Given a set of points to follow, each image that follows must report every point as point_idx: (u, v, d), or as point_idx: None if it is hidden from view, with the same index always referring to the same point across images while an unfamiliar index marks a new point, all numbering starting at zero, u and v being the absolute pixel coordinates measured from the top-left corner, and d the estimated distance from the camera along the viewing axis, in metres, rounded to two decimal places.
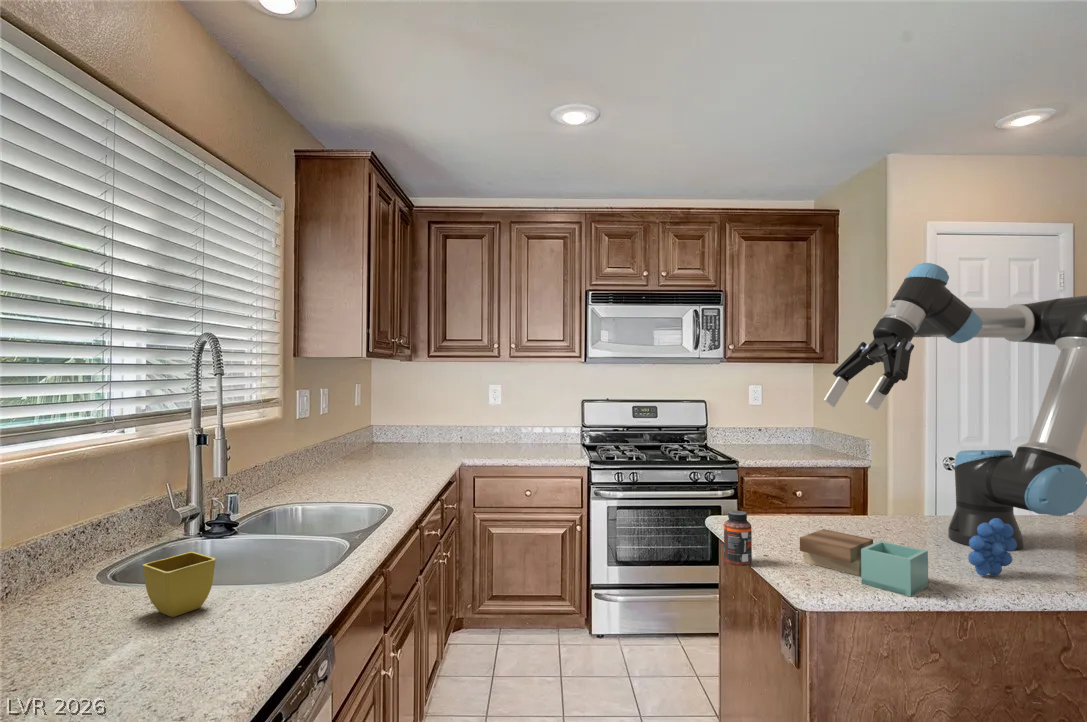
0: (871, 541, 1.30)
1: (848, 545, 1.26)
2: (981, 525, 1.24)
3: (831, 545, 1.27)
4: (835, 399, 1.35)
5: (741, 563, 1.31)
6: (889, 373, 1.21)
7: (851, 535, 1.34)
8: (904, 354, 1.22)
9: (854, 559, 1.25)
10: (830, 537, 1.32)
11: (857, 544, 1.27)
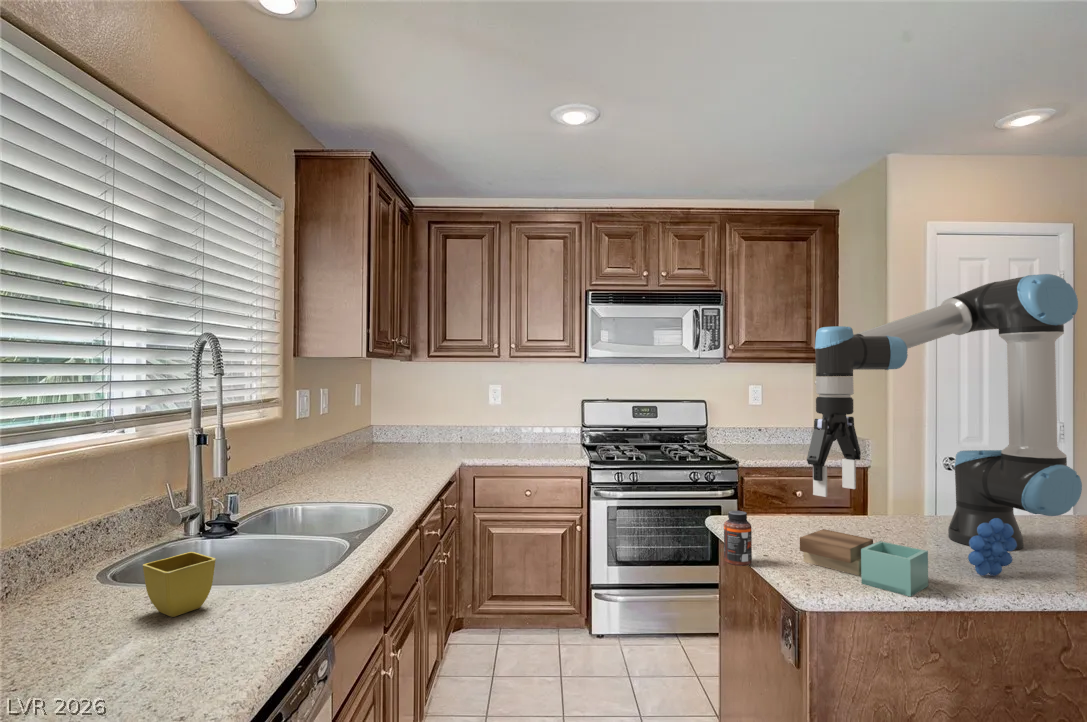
0: (871, 541, 1.30)
1: (848, 545, 1.26)
2: (981, 525, 1.24)
3: (831, 545, 1.27)
4: (851, 481, 1.35)
5: (741, 563, 1.31)
6: None
7: (851, 535, 1.34)
8: (816, 436, 1.27)
9: (854, 559, 1.25)
10: (830, 537, 1.32)
11: (857, 544, 1.27)
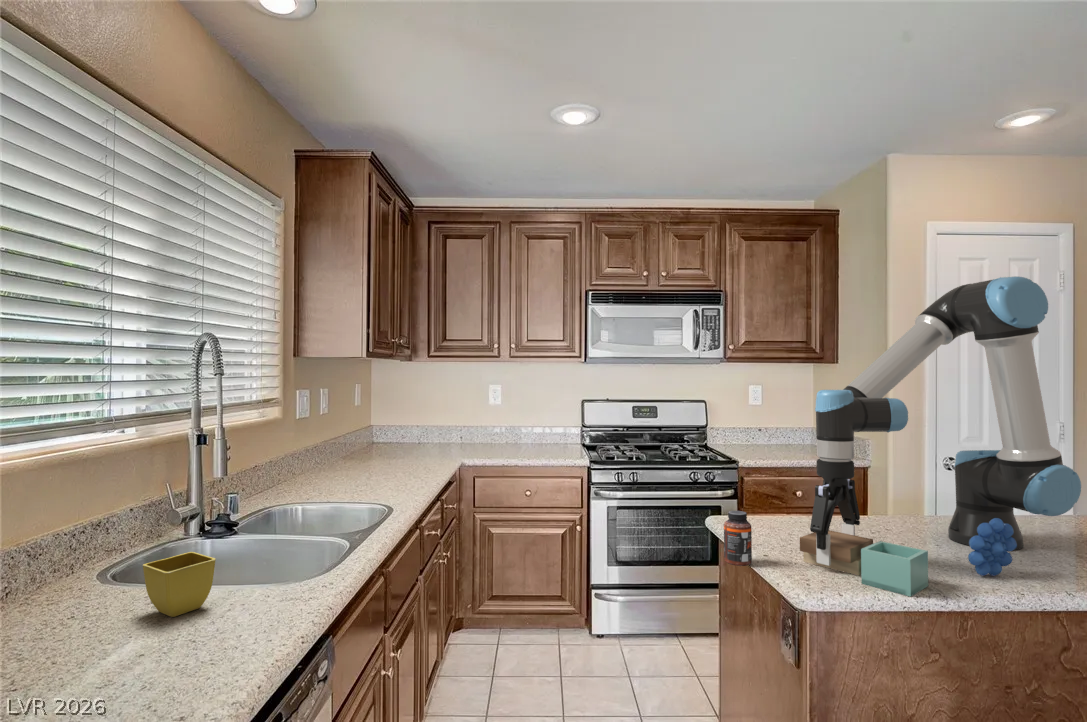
0: (871, 541, 1.30)
1: (848, 545, 1.26)
2: (981, 525, 1.24)
3: (831, 545, 1.27)
4: None
5: (741, 563, 1.31)
6: None
7: (851, 535, 1.34)
8: (817, 504, 1.27)
9: (854, 559, 1.25)
10: (830, 537, 1.32)
11: (857, 544, 1.27)
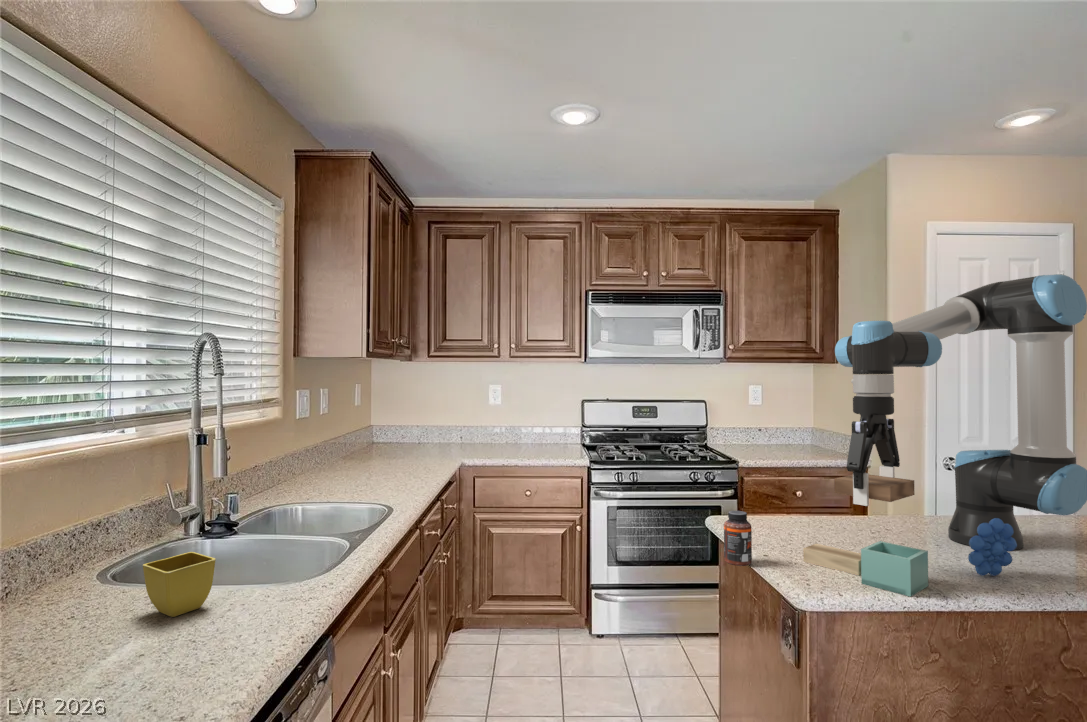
0: (912, 482, 1.22)
1: (887, 484, 1.18)
2: (981, 525, 1.24)
3: (869, 484, 1.19)
4: None
5: (741, 563, 1.31)
6: None
7: (890, 477, 1.26)
8: (854, 440, 1.19)
9: (894, 498, 1.17)
10: None
11: (897, 483, 1.19)
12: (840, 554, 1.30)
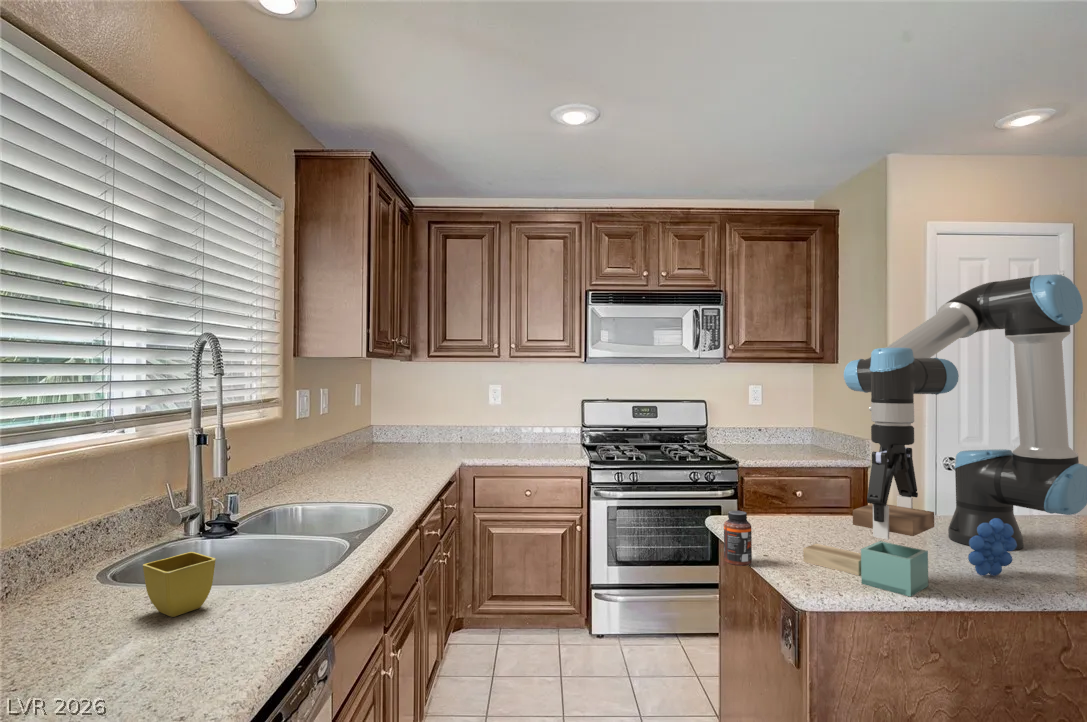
0: (932, 514, 1.18)
1: (909, 517, 1.14)
2: (981, 525, 1.24)
3: (890, 517, 1.15)
4: None
5: (741, 563, 1.31)
6: None
7: (908, 508, 1.22)
8: (875, 471, 1.16)
9: (916, 532, 1.13)
10: None
11: (919, 516, 1.15)
12: (840, 554, 1.30)
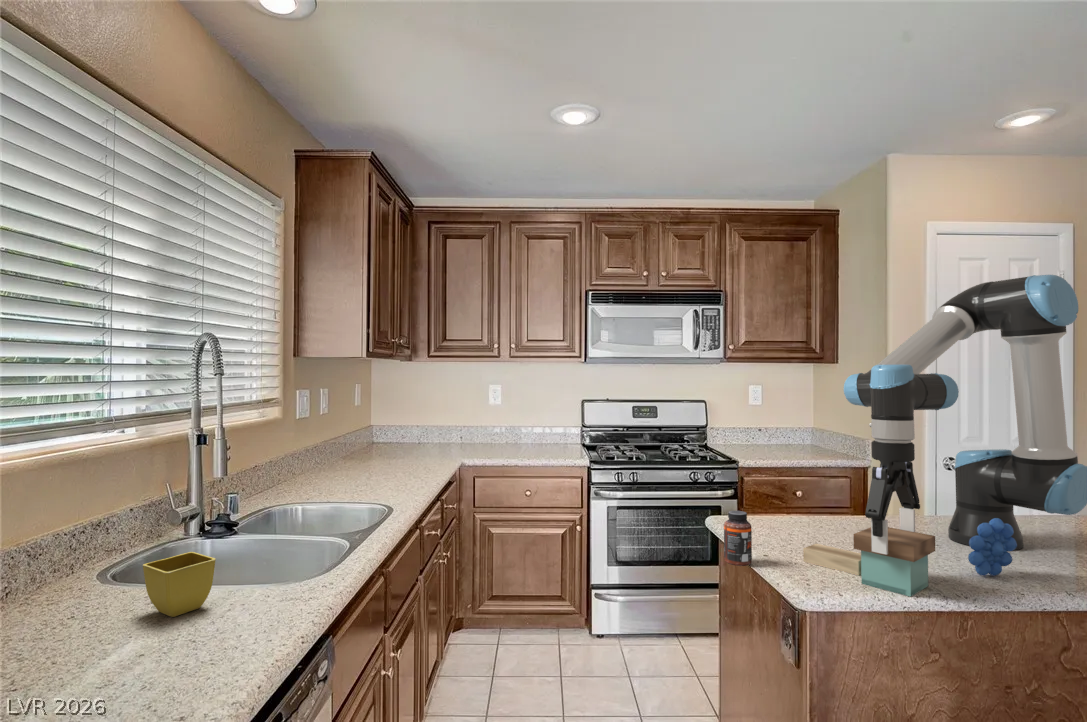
0: (933, 538, 1.18)
1: (910, 542, 1.14)
2: (981, 525, 1.24)
3: (891, 542, 1.15)
4: None
5: (741, 563, 1.31)
6: None
7: (909, 531, 1.22)
8: (875, 486, 1.15)
9: (917, 558, 1.13)
10: None
11: (919, 541, 1.15)
12: (840, 554, 1.30)
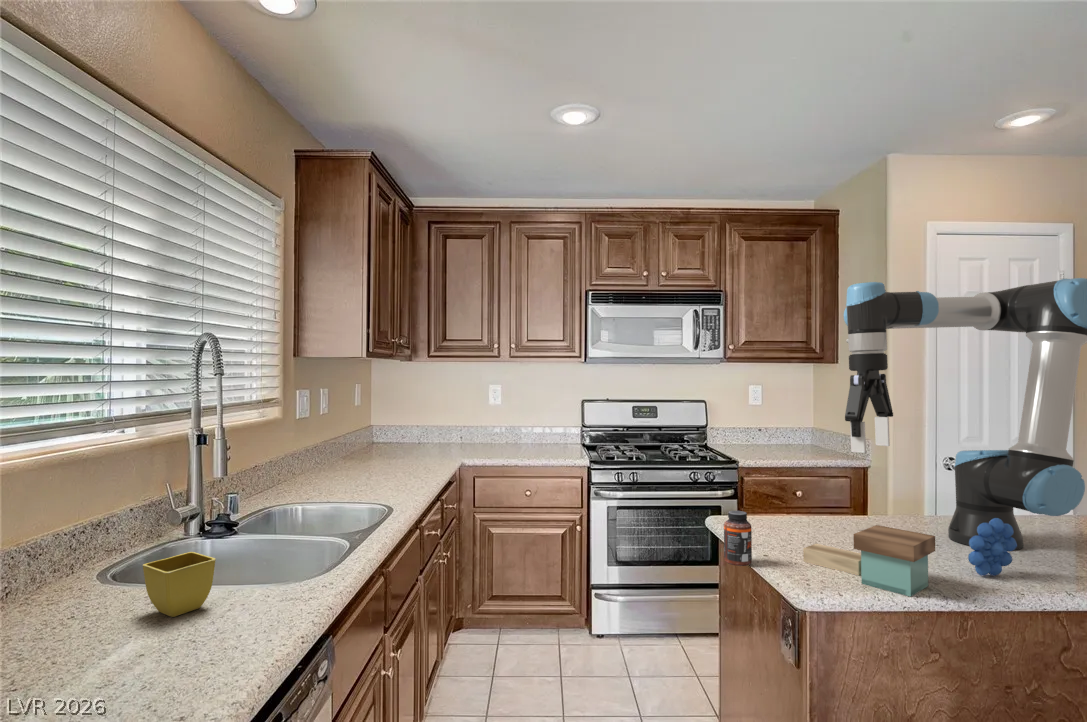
0: (933, 538, 1.18)
1: (910, 542, 1.14)
2: (981, 525, 1.24)
3: (891, 542, 1.15)
4: (884, 439, 1.35)
5: (741, 563, 1.31)
6: None
7: (909, 531, 1.22)
8: (853, 392, 1.27)
9: (917, 558, 1.13)
10: (887, 533, 1.20)
11: (919, 541, 1.15)
12: (840, 554, 1.30)
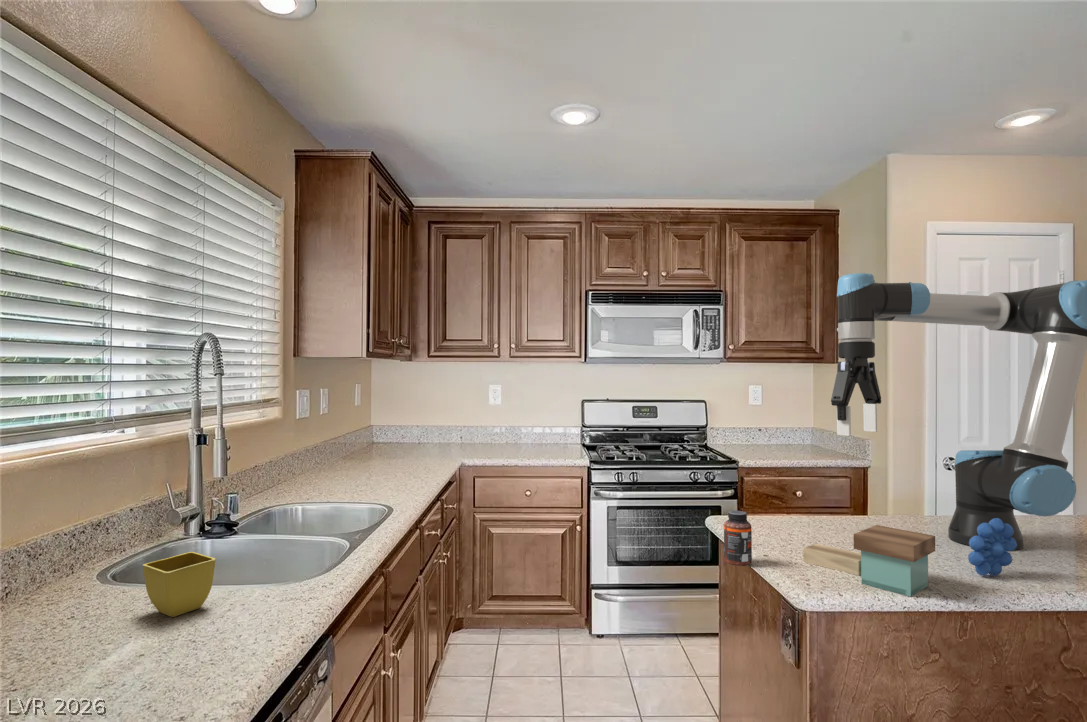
0: (933, 538, 1.18)
1: (910, 542, 1.14)
2: (981, 525, 1.24)
3: (891, 542, 1.15)
4: (872, 424, 1.41)
5: (741, 563, 1.31)
6: (834, 402, 1.33)
7: (909, 531, 1.22)
8: (839, 378, 1.33)
9: (917, 558, 1.13)
10: (887, 533, 1.20)
11: (919, 541, 1.15)
12: (840, 554, 1.30)
